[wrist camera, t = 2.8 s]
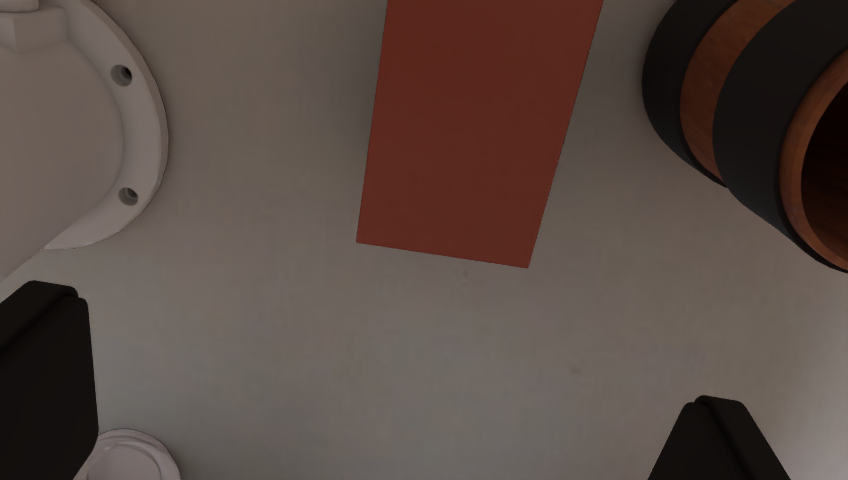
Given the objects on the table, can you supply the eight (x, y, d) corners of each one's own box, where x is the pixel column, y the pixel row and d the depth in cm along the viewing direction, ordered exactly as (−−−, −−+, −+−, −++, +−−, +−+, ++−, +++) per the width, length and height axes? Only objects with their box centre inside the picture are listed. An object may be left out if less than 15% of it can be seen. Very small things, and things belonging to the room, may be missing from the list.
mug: (723, 244, 30) (876, 414, 19) (597, 44, 26) (707, 126, 15) (902, 141, 27) (1187, 274, 17) (795, -100, 23) (1089, -119, 13)
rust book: (397, -46, 20) (393, -44, 18) (586, -11, 20) (605, -4, 18) (362, 215, 24) (355, 243, 22) (519, 239, 25) (528, 269, 22)
